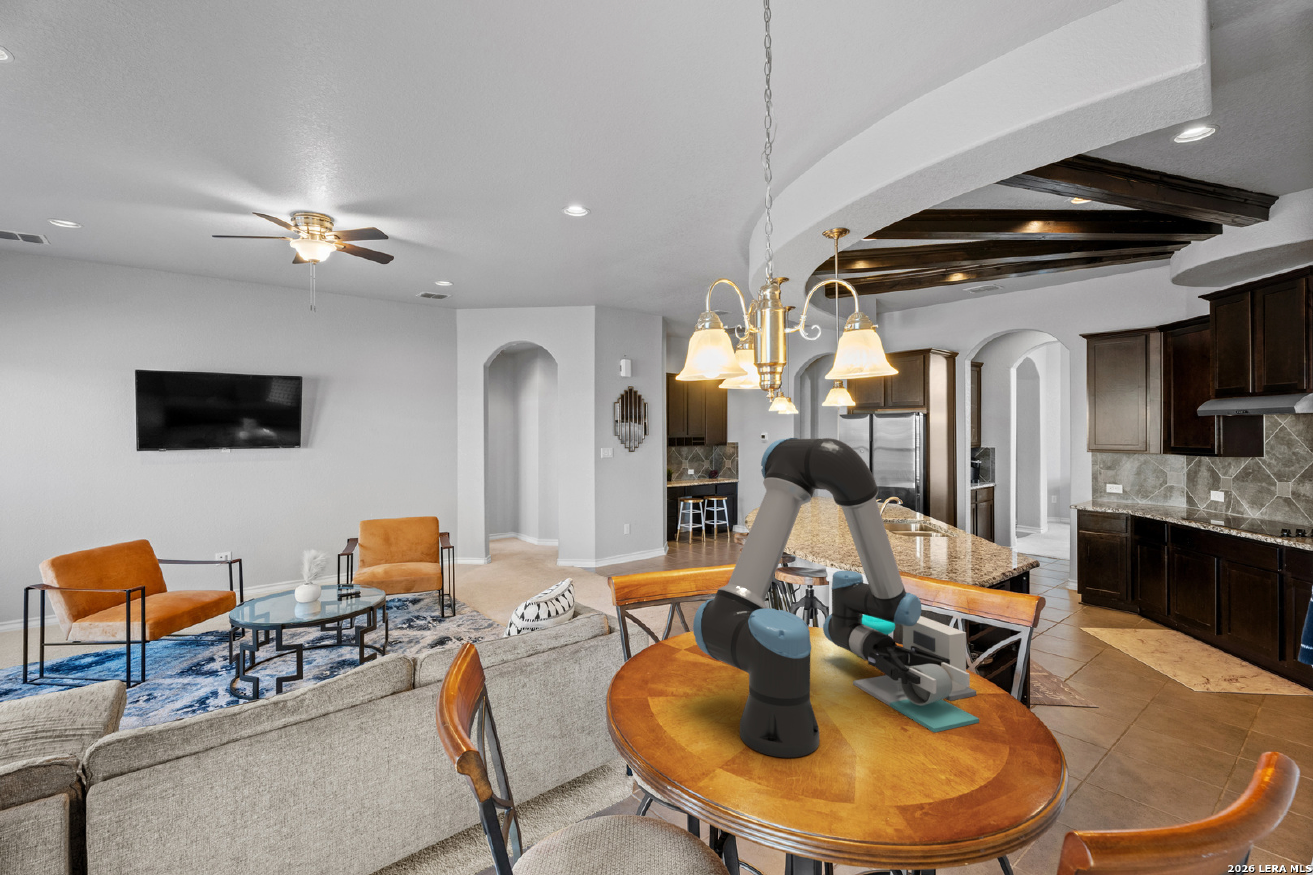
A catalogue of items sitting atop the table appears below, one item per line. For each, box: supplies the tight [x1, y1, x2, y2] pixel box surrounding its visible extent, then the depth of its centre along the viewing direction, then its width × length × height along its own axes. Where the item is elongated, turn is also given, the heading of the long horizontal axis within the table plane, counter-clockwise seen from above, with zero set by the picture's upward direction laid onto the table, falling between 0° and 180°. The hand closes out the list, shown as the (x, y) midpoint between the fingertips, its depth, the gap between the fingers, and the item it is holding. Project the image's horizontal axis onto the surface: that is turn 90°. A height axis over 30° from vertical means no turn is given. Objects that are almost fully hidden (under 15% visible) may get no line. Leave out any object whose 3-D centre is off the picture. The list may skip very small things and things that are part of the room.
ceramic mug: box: [896, 664, 952, 706], centre depth 124 cm, size 11×8×8 cm
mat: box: [852, 674, 980, 733], centre depth 127 cm, size 12×24×1 cm, turn 21°
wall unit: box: [902, 615, 977, 702], centre depth 137 cm, size 8×17×14 cm, turn 21°
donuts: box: [862, 614, 896, 636], centre depth 155 cm, size 10×10×10 cm
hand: (951, 683), depth 117 cm, fingers closed on ceramic mug, 8 cm apart
